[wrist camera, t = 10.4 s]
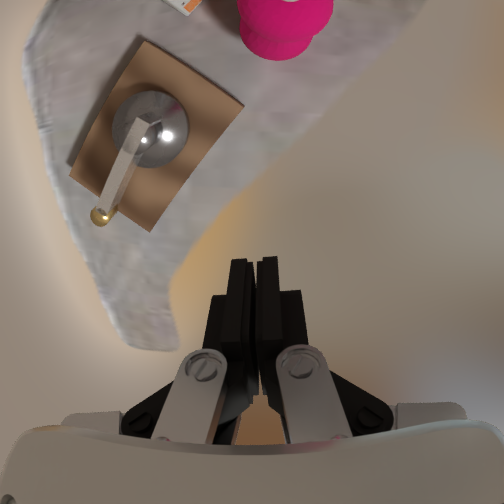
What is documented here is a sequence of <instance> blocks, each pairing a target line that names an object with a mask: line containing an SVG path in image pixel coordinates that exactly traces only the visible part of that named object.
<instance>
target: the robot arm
mask: <svg viewBox="0 0 504 504" xmlns="http://www.w3.org/2000/svg"><path fill="white" fill-rule="evenodd" d="M259 371H260V377H261V384H262V390H263V395H267V397H268V404H269V406H270V407H271V408H272V409H274V410H275V411H276V412H278V413H279V414H280V419H281V424H282V429H283V434H284V438H285V444H278V445H235V443H236V438H237V435H238V430H239V426H240V422H241V415H242V412H243V411H244V410H246V409H247V408H248V407H249V406H250V404H253V395H259ZM0 504H504V435H503V433H502V432H501V431H500V430H499V429H498V428H497V427H495V426H494V425H491V424H489V423H486V422H482V421H477V420H468V419H467V415H466V412H465V410H464V409H463V408H462V407H461V406H460V405H458V404H457V403H453V402H438V403H398V404H397V406H388V405H387V404H386V403H384V402H383V401H381V400H380V399H378V398H376V397H374V396H373V395H371V394H369V393H367V392H366V391H364V390H362V389H361V388H359V387H357V386H355V385H354V384H352V383H350V382H349V381H347V380H345V379H344V378H342V377H340V376H339V375H337V374H335V373H333V372H332V371H330V370H329V368H328V365H327V362H326V360H325V357H324V356H323V354H322V353H321V352H320V351H319V350H318V349H317V348H315V347H312V346H310V345H308V337H307V329H306V322H305V315H304V309H303V301H302V294H301V290H291V291H280V288H279V275H278V259H277V256H273V257H263V261H258V262H257V283H255V276H254V267H253V262H247V259H246V258H245V259H232V260H231V266H230V273H229V280H228V287H227V294H226V295H213V296H212V299H211V305H210V310H209V315H208V320H207V326H206V331H205V336H204V342H203V347H202V349H200V350H196V351H194V352H192V353H190V354H189V355H187V356H186V357H185V358H184V360H183V361H182V363H181V365H180V367H179V370H178V372H177V375H176V377H175V379H174V381H172V382H171V383H170V384H168V385H166V386H165V387H163V388H162V389H160V390H159V391H157V392H156V393H154V394H153V395H151V396H150V397H148V398H147V399H145V400H143V401H142V402H140V403H139V404H137V405H136V406H134V407H133V408H131V409H130V410H129V411H127V412H126V413H121V412H120V411H113V412H98V413H76V414H71V415H69V416H67V417H66V418H65V419H64V420H63V421H62V423H61V425H51V426H50V425H49V426H42V427H37V428H33V429H30V430H28V431H26V432H24V433H23V434H21V435H20V436H19V438H18V439H17V440H16V441H15V443H14V445H13V447H12V449H11V451H10V453H9V455H8V457H7V459H6V462H5V464H4V467H3V470H2V473H1V476H0Z"/></svg>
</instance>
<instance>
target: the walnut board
mask: <svg viewBox="0 0 504 504" xmlns="http://www.w3.org/2000/svg"><path fill="white" fill-rule="evenodd" d="M150 90H158V91H163V92H166V93H169V94H171V95H172V96H174V97H175V98H177V99H178V100H179V101H180V102H181V104H182V105H183V106H184V108H185V110H186V112H187V114H188V117H189V122H190V132H189V137H188V140H187V143H186V145H185V147H184V148H183V150H182V151H181V152H180V153H179V154H178V155H177V156H176V157H175V158H174V159H173V160H172V161H171V162H169V163H168V164H166V165H164V166H161V167H157V168H142V167H138V166H137V167H136V169H135V171H134V173H133V175H132V177H131V179H130V181H129V183H128V185H127V187H126V190H125V192H124V194H123V196H122V198H121V200H120V203H119V204H118V211H119V212H121V213H122V214H124V215H125V216H126V217H128V218H129V219H131V220H132V221H134V222H135V223H137V224H138V225H139V226H141V227H142V228H144V229H145V230H147V231H148V232H150V231H151V230H152V228H153V227H154V225H155V224H156V222H157V221H158V220H159V218H160V217H161V215H162V214H163V212H164V211H165V209H166V208H167V207H168V205H169V204H170V202H171V201H172V199H173V198H174V197H175V195H176V194H177V192H178V191H179V190H180V188H181V187H182V186H183V184H184V183H185V181H186V180H187V179H188V177H189V176H190V175H191V173H192V172H193V171H194V169H195V168H196V167H197V165H198V164H199V163H200V161H201V160H202V159H203V157H204V156H205V155H206V154H207V152H208V151H209V150H210V148H211V147H212V146H213V145H214V143H215V142H216V141H217V140H218V138H219V137H220V136H221V135H222V133H223V132H224V131H225V130H226V128H227V127H228V126H229V125H230V123H231V122H232V121H233V120H234V119H235V117H236V116H237V115H238V114H239V113H240V111H241V110H242V109H243V108H244V105H243V104H242V103H240V102H239V101H237V100H236V99H235V98H233V97H232V96H231V95H229V94H228V93H227V92H225V91H224V90H222V89H221V88H220V87H218V86H217V85H215V84H214V83H213V82H211V81H210V80H208V79H207V78H205V77H204V76H202V75H201V74H199V73H198V72H197V71H195V70H194V69H192V68H191V67H189V66H188V65H186V64H184V63H183V62H181V61H180V60H178V59H177V58H175V57H174V56H172V55H170V54H169V53H167V52H166V51H164V50H162V49H161V48H159V47H158V46H156V45H154V44H153V43H151V42H147V41H144V42H143V44H142V45H141V46H140V48H139V49H138V51H137V52H136V54H135V55H134V57H133V58H132V59H131V61H130V62H129V64H128V65H127V67H126V69H125V70H124V72H123V73H122V75H121V76H120V78H119V80H118V81H117V83H116V84H115V86H114V88H113V89H112V91H111V93H110V94H109V96H108V98H107V100H106V101H105V103H104V105H103V107H102V108H101V110H100V112H99V114H98V116H97V118H96V120H95V121H94V123H93V125H92V127H91V129H90V131H89V133H88V135H87V137H86V139H85V141H84V143H83V145H82V147H81V149H80V152H79V154H78V156H77V158H76V160H75V163H74V165H73V167H72V169H71V172H70V174H69V176H70V177H72V178H73V179H74V180H76V181H77V182H79V183H80V184H81V185H83V186H84V187H85V188H87V189H88V190H90V191H91V192H92V193H94V194H95V195H97V196H98V197H99V198H100V196H101V193H102V191H103V189H104V186H105V184H106V181H107V179H108V177H109V174H110V172H111V170H112V167H113V165H114V163H115V161H116V158H117V156H118V154H119V152H118V150H117V148H116V146H115V144H114V141H113V137H112V123H113V119H114V116H115V113H116V111H117V110H118V108H119V107H120V105H121V104H122V103H123V102H124V101H125V100H126V99H128V98H129V97H130V96H132V95H134V94H136V93H139V92H143V91H150Z"/></svg>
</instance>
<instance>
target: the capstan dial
mask: <svg viewBox="0 0 504 504" xmlns="http://www.w3.org/2000/svg"><path fill="white" fill-rule="evenodd" d="M189 132H190V122H189V117H188V114H187V112H186V110H185V108H184V106H183V105H182V104H181V102H180V101H179V100H178V99H177V98H175V97H174V96H172V95H171V94H169V93H166V92H163V91H158V90H150V91H143V92H139V93H136V94H134V95H132V96H130V97H129V98H128V99H126V100H125V101H124V102H123V103H122V104H121V105H120V107H119V108H118V110H117V111H116V113H115V116H114V119H113V123H112V137H113V141H114V144H115V146H116V148H117V150H118V152H119V154H118V156H117V158H116V161H115V163H114V165H113V167H112V170H111V172H110V174H109V177H108V179H107V181H106V184H105V186H104V189H103V191H102V193H101V196H100V199H99V201H98V204H97V206H96V207H95V208H94V209H93V210H92V211H91V214H90V217H91V220H92V222H93V223H94V224H95V225H97V226H100V227H102V226H105V225H106V224H107V223H108V222H109V221H110V220H111V218H112V217H113V216H114V215H115V214H116V213H117V211H118V204H119V203H120V200H121V198H122V196H123V194H124V192H125V190H126V187H127V185H128V183H129V181H130V179H131V177H132V175H133V173H134V171H135V169H136V167H137V166H138V167H142V168H157V167H161V166H164V165H166V164H168V163H169V162H171V161H172V160H173V159H174V158H175V157H176V156H177V155H178V154H179V153H180V152H181V151H182V150H183V148H184V147H185V145H186V143H187V140H188V137H189Z"/></svg>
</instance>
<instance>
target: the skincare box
mask: <svg viewBox="0 0 504 504" xmlns="http://www.w3.org/2000/svg"><path fill="white" fill-rule="evenodd" d="M162 1H164V2H165V3H167V4H168V5H170V6H171V7H173V8H174V9H176V10H178V11H179V12H181V13H182V14H184V15H185V16H188V15H189V14H190V13H191V12H192V11H193V10H194V9H195V8H196V7H197V6H198V5H199V4H200V3H201V2H202V1H203V0H162Z"/></svg>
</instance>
